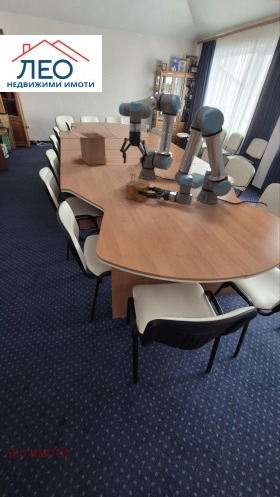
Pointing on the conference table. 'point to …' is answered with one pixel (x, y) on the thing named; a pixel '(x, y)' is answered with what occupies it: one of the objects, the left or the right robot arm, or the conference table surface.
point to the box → (92, 146)
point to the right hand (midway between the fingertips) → (140, 189)
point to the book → (197, 179)
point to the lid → (136, 183)
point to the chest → (136, 193)
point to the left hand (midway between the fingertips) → (133, 164)
